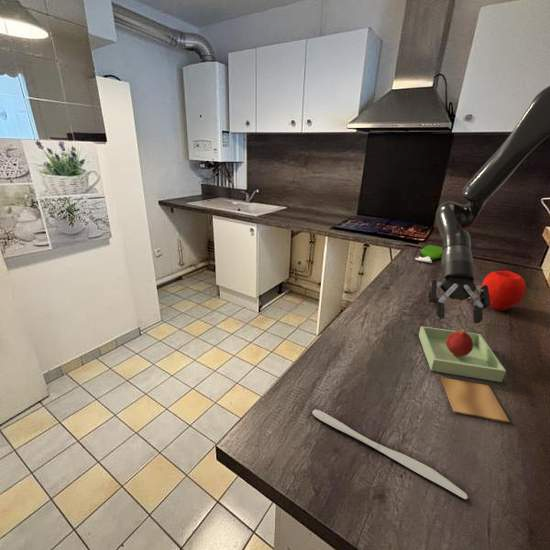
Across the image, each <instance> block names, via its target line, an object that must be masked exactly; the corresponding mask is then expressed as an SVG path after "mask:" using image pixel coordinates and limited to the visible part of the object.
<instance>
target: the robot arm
mask: <svg viewBox="0 0 550 550" xmlns="http://www.w3.org/2000/svg"><path fill="white" fill-rule="evenodd" d="M548 137H550V85H548V86H547V87H545V88H543V89H542V90H541V91H539V92H538V93H537V94H536V96H535V97H534V98H533V99H532V101H531V103H530V105H529V106H528V108H527V109H526V111H525V112H524V113H523V115H522V117H521V118H520V120H519V122H518V123H517V124H516V126H515V127H514V128H513V129H512V131H511V132H510V134H509V135H508V137H507V138H506V139H505V140H504V142H502V144H501V145H500V146H499V148H497V150H496V151H495V152H494V153H493V154H492V155H491V156H490V158H488V160H487V161H486V162H485V163H484V164H483V165H482V166H481V167H480V169H478V171H476V173H475V174H474V175H473V176H472V177H471V179H470V180H469V181H468V182H467V183H466V185H465V186H464V187H463V188H462V190H461V195H462V197H463V198H464V199H465V200H467V202H466V203H465V205H463V204H461V203H459V202H455V201H451V200H450V201H444V202H442V203H440V205H439V206H438V208H437V209H436V211H435V224H436V227H437V230H438V234H439V235H440V238H441V247H442V257H441V261H440V264H441V281H437V280H436V279H432V280H431V281H430V283H429V286H428V298H427V299H428V302H429V303H433V304H434V305H435V314H436V316H437V317H438V319H439V320H440V319H441V320H443V319H445V303H444V302H445V301H446V300H447V299H448V298H449V299H450V300H459V301H465V302H466V303H467V304H468V305H470V307H472V308H473V310H472V313H473V323H474V324H476V325H477V324H480V323H481V322H482V321H483V320H484V315H483V314H484V313H483V310H486V309H487V308H489V307H490V306H491V303H490V296H489V290H488V286H487V285H484V286H482V285H476V284H475V273H474V259H473V253H472V245H471V235H470V232H468V231H467V230H466V229H468V228H469V227H471V226H472V225H473V224H474V223H475V222H476V220H477V218H478V217H479V215H480V213H481V211H482V209H484V206H485V205H486V203H487V201H488V200H489V199H490V198H491V197H492V196H493V195H494V194H495V193H496V192H497V191H498V190H499V189H500V188H501V187H502V186H503V185H504V184H505V183H506V182H507V180H508V179H509V178H510V177H511V176H512V174H514V172H515V171H516V170H517V168H518V167H519V166H520V165H521V163H522V162H523V161H524V160H525V159H526V158H527V157H528V156H529V155H530V153H532V152H533V150H535V149H536V148H537V147H538V146H539V145H540V144H541V143H542V142H543V141H545V140H546V139H547V138H548ZM439 288H441V290H442V292H444V293H443V294H442V295H441V296H440V297H437V290H438V289H439ZM475 292H476V293H475ZM476 294H478V295H479V297H478V295H476Z"/></svg>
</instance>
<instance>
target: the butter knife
mask: <svg viewBox="0 0 550 550" xmlns="http://www.w3.org/2000/svg"><path fill="white" fill-rule="evenodd" d="M312 415H313V416H314V417H315V418H317V419H318V420H320V421H322V422H323V423H325V424H327V425H328V426H331V428H334V429H336V430H337V431H339V432H342V433H344V434H346V435H348V436H349V437H352V438H354V439H356V440H358V441H359V442H362V443H364V444H365V445H367V446H370V447H371V448H373V449H375V450H377V451H378V452H380V453H382V454H384V455H385V456H387V457H388V458H390V459H392V460H394V461H396V462H398V463H399V464H401V465H402V466H404V467H406V468H408V469H409V470H411V471H412V472H415V473H417V474H418V475H420V476H422V477H423V478H425V479H428V480H429V481H431V482H433V483H435V484H437V485H439V486H441V487H442V488H443V489H446V490H448V491H450V492H451V493H453V494H455V495H456V496H458V497H459V498H462V499H464V500H467V499H468V497H469V496H468V495H467V493H466V492H465V491H463V490H462V489H460V488H459V487H458V486H457V485H455V484H454V483H453V482H451V480H450V479H447V478H446V477H445V476H443V475H442V474H440V473H439V472H437V471H436V470H435V469H433V468H432V467H431V466H428V465H426V464H425V463H422V462H420V461H418V460H417V459H415V458H412V457H410V456H408V455H406V454H404V453H401V452H399V451H396V450H395V449H391V448H388V447H386V446H384V445H382V444H380V443H378V442H376V441H373V440H371V439H369V438H367V437H366V436H364V435H362V434H361V433H359V432H357V431H355V430H354V429H352V428H350V427H349V426H348V425H346V424H344V423H343V422H342V421H339V420H338V419H336V418H334V417H333V416H331V415H329V414H327V413H326V412H324V411H322V410H320V409H316V408H315V409H313V410H312Z"/></svg>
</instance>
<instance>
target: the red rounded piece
mask: <svg viewBox="0 0 550 550" xmlns="http://www.w3.org/2000/svg"><path fill="white" fill-rule="evenodd" d="M456 331H457V332H453V333H452V334H450V335H449V336H448V337H447V340H446V345H447V348H448V349H449V350H450V352H451V353H453V355H454V356H465V355H467V354H469V353H470V352H471V351H472V349H473V341H472V339H471V337H470V336H469V335H468V334H467V333H466V330H465V329H463V328H462V329H459V330H456Z"/></svg>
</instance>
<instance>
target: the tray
mask: <svg viewBox="0 0 550 550" xmlns="http://www.w3.org/2000/svg"><path fill="white" fill-rule="evenodd" d="M457 331H458V330H452V329H446V328H445V329H444V328H439V327H438V328H436V327H432V326H431V327H430V326H422V325H421V326H420V329H419V331H418V332H419V333H418V337H419V341H420V343H421V346H422V350H423V353H424V355H425V358H426V361H427V363H428V366H429V369H430V371H431V372H437V373H443V374H449V375H455V376H461V377H466V378H467V377H469V378H474V379H480V380H485V381H492V382H497V383H502V382H503V381H504V377H505V375H506V372H507V371H506V368H505V367H504V366H503V364H502V363H501V362H500V360H499V358H498V357H497V356H496V355H495V353H494V352H493V350H492V349H491V347H490V346H489V344H488V343H487V341H486V340H485V338H484V337H483V336H482V335H481V333H474V332H468V331H467V332H466V331H465V332H466V333H467V334H468V335H469V336H470V337H471V339H472V341H473V349H472V351H471V352H470V353H469V354H467V355H465V356H454V355H453V353H451V352H450V350H449V349H448V348H447V345H446V340H447V337H448V336H449V335H450V334H452V333H453V332H457Z"/></svg>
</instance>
